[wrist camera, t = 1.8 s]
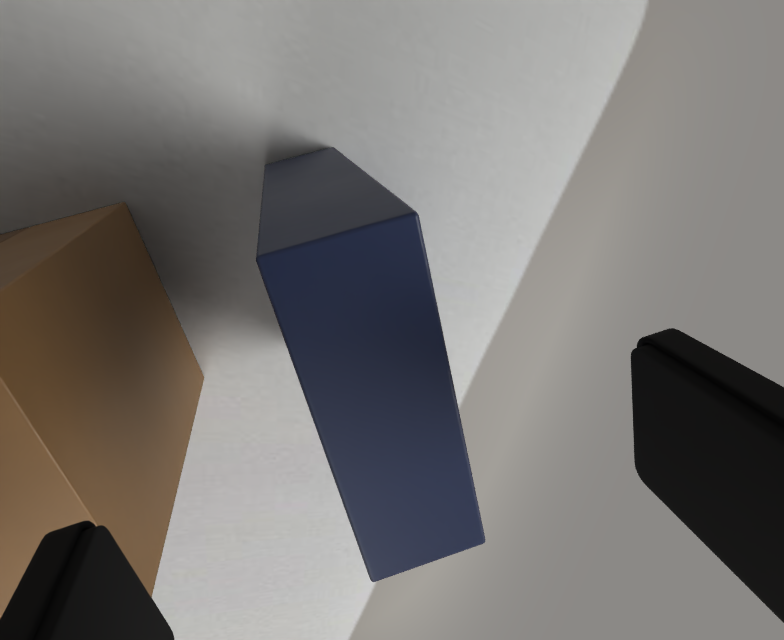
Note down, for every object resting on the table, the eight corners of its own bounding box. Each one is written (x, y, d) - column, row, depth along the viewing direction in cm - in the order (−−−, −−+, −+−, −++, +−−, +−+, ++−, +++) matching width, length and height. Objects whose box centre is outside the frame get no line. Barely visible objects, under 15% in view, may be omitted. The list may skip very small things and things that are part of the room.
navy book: (264, 164, 20) (254, 257, 8) (334, 146, 20) (418, 211, 9) (321, 342, 23) (371, 584, 12) (380, 324, 24) (487, 544, 12)
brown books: (-69, 252, 19) (-525, 459, 8) (125, 201, 20) (-55, 328, 9) (43, 426, 22) (-172, 735, 11) (204, 377, 23) (145, 626, 12)
